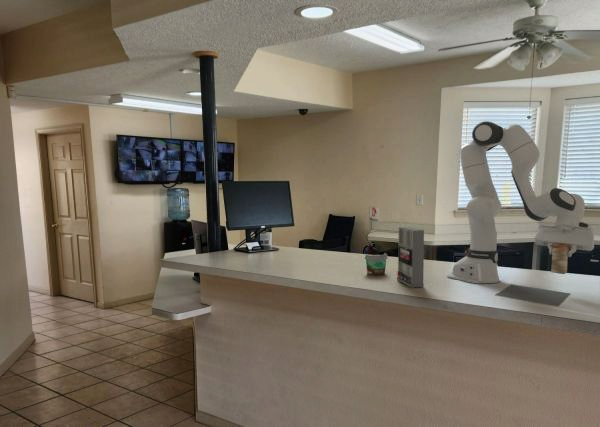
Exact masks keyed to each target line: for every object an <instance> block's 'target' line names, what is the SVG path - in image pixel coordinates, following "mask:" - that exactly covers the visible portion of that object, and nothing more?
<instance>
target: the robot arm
mask: <svg viewBox="0 0 600 427" xmlns="http://www.w3.org/2000/svg"><path fill="white" fill-rule="evenodd" d="M471 137H472V141H471V142H468V143H465V144H464V145H462V147H461V148H460V165H461V169H462V174H463V178H464V182H465V183H464V184H465V186H466V188H467V190H468V191H469V194H470V196H471V199H470V200H469V201H468V203H467V204H466V207H465V208H466V210H465V211H466V214H467V217H468V224H469V231H470V241H469V242H470V246H469V248H467V249H466V250H465V251H464V254H465V256H464V257H462V258H461V259H459V260H457V261H456V262H455V263H454V265H453V267H452V271H450V272H449V273H447V275H446V276H447V278H450V279H453V280H458V281H462V282H468V283H473V284H494V283H499V282H500V281H501V280H500V276H499V273H498V272H499V271H498V260H499V259H498V258H499V253H498V249H497V246H498V245H497V242H498V241H497V239H498V232H497V229H496V222H495V217H496V216H498V215H499V213H500V212H501V209H502V202H501V201H500V198H499V196H498V193H497V190H496V187H495V185H494V182H493V179H492V175H491V172H490V167H489V162H488V159H487V152H489V151H491V150H492V149H494V148H496V147H497V146H498V145H499V146H501V147H502V148H503V149H504V151H505V152H506V154H507V156H508V157H509V159H510V161H511V171H510V172H511V177H512V179H513V182H514V184H515V187H516V189H517V191H518V194H519V197H520V199H521V202H522V204H523V209H524V213H525V215H526V216H527V217H528V218H530V219H531V220H533V221H536V222H541V221H542V222H543V221H544V220H546V219H547V218H549V217H551V216H554V215H555V216H556V220H555V222H554V226H553V225H552V226H551V225H541V226H538V227H537V228H536V233H535V236H534V243H535V245H537V246H543V247H544V246H545V247H547V248H548V250H549V251H548V254H549V255H552V252H553V245H554V244H563V245H569V249H568V251H567V254H566V255H567V257H568V258H571V257H572V254H574V253H576V251H577V250H581V251H588V252H591V251H593V250H594V248H595V237H594V229H593V225H592V224H590V223H587V222H585V221H584V222H583V221H582V219H583V218H584V214H585V210H586V209H585V208H586V205H585V204H586V203H585V200H584V198H583V197H582V196H581V195H579V194H577V193H569V192H567V191H566V190H564V189H563V188H560V187H559V188H558V187H555V188H552V189H550V190H547V191H545V192H543V193H541V194H540V195H536V193H535V191H534V189H533V186H532V184H531V182H530V174H531V172H532V170H533V168H535V166H536V165H537V163H538V161H539V159H540V154H541V153H540V150H539V146H537V144H536V142H535V141H534V140H533V138H532V136H531V135H530V134H529V133H528V131H526V129H524V127H522V126H521V125H519V124H517V123H515V124H511V125H508V126H506V127H504V128H503V126H501V125H498V124H497V123H495V122H492V121H487V120H486V121H482V122H479V123H477V124H476V125H475V126H474V128H473V129H472V132H471Z"/></svg>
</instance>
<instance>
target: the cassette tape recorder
mask: <svg viewBox="0 0 600 427" xmlns="http://www.w3.org/2000/svg"><path fill="white" fill-rule="evenodd" d="M397 236H398V243H397V244H398V247H397V248H398V253H397V260H398V262H397V263H398V264H397V265H398V267H397V277H396V280H397V281H398V282H400V283H402V284H404V285H406V286H408V287H409V288H412V289H413V288H423V287H424V286H425V284H424V268H425V266H424V265H425V264H424V262H425V261H424V258H425V257H424V255H425V254H424V253H425V252H424V251H425V250H424V249H425V248H424V247H425V229H420V228H416V227H413V226H398V235H397Z"/></svg>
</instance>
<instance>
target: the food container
mask: <svg viewBox="0 0 600 427" xmlns="http://www.w3.org/2000/svg"><path fill="white" fill-rule="evenodd" d="M364 259H365V264H366V274H367V275H368V276H373V275H374V276H375V277H376V276H377V277H378V276H379V277H380V276H384V275H385V274H386V266H387V260H388V259H389V256H388V254H387V253H386V252H384V254H373V255H371V254H370V255H369V254H365V256H364Z"/></svg>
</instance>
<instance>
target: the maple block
mask: <svg viewBox="0 0 600 427" xmlns="http://www.w3.org/2000/svg"><path fill="white" fill-rule="evenodd" d="M552 249H553V252H552V254H551V255H552V256H551V270H550V272H551V273H552V274H553V273H554V274H559V275H565V274H566V273H568V261H569V260H568V258H569V257H567V255H566V254H567V251H569V250H570V249H569V245H563V244H554V245H553V247H552Z"/></svg>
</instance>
